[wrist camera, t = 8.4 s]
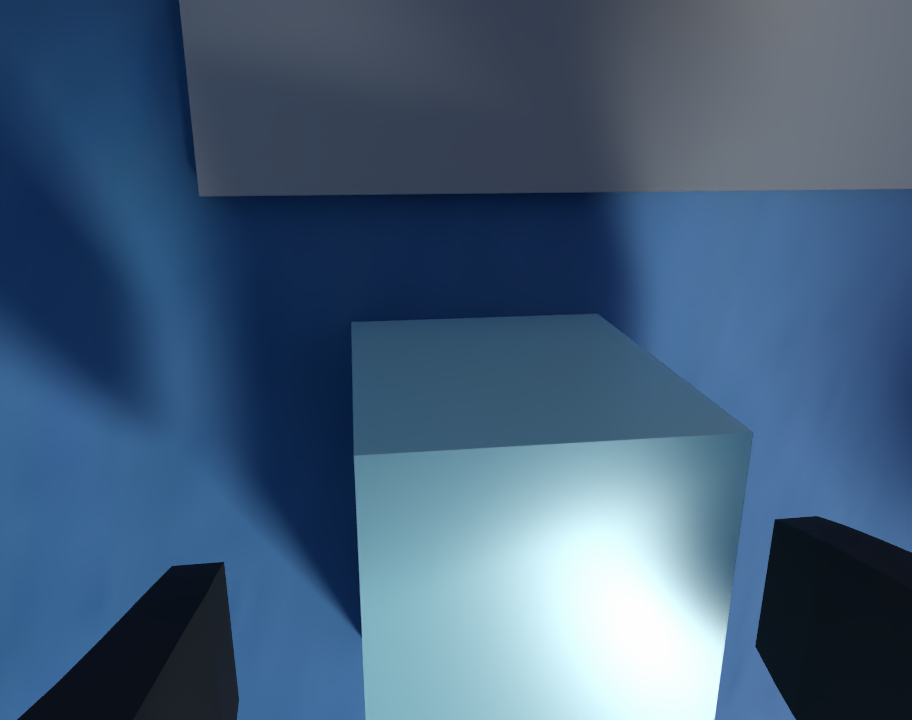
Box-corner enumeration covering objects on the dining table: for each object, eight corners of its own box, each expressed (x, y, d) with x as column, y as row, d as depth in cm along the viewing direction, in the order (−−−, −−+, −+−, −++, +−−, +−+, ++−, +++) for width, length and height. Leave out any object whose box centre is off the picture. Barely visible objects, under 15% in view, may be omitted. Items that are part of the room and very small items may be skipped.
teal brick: (596, 312, 12) (753, 432, 7) (577, 619, 14) (694, 872, 9) (351, 320, 12) (353, 455, 7) (365, 638, 13) (374, 916, 9)
